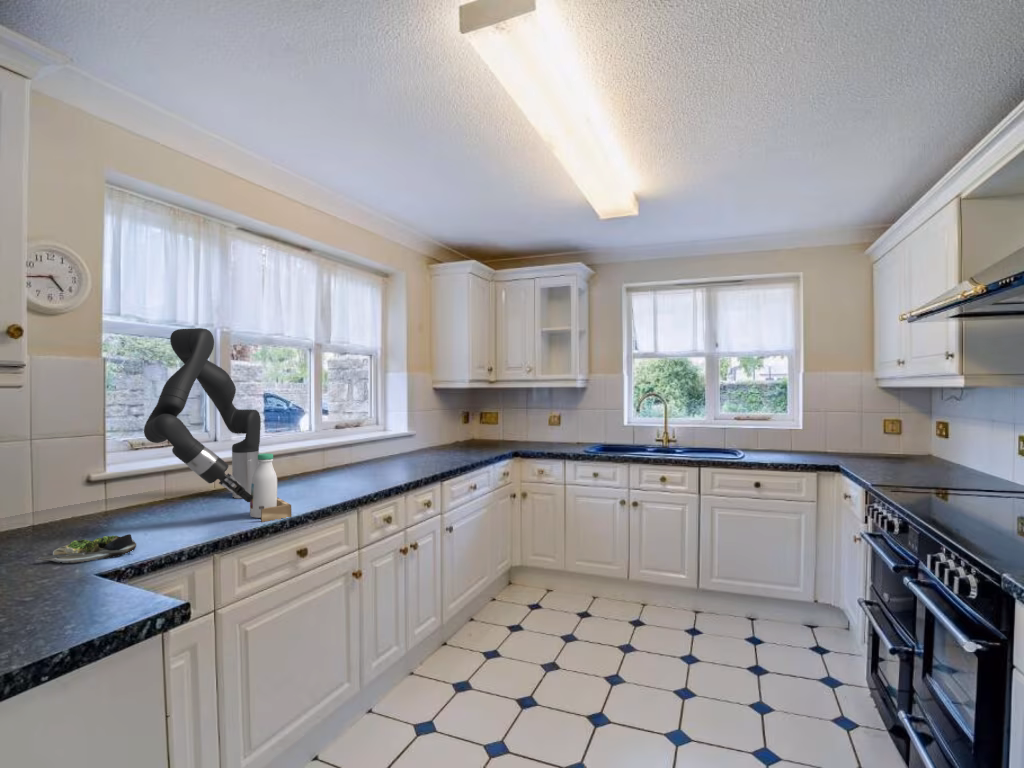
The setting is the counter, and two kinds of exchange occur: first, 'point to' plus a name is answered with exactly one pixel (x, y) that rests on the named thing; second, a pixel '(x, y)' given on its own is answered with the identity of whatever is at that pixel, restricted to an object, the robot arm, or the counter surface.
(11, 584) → the counter surface
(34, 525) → the counter surface
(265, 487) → the milk bottle
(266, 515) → the light brown wooden box
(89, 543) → the salad plate
